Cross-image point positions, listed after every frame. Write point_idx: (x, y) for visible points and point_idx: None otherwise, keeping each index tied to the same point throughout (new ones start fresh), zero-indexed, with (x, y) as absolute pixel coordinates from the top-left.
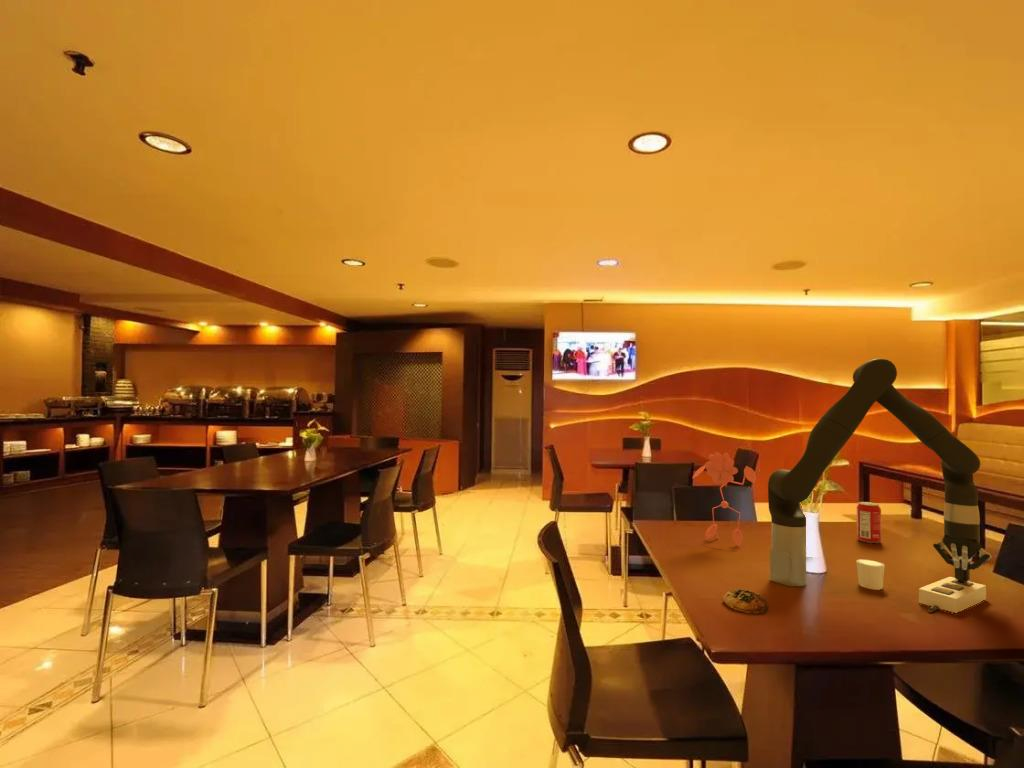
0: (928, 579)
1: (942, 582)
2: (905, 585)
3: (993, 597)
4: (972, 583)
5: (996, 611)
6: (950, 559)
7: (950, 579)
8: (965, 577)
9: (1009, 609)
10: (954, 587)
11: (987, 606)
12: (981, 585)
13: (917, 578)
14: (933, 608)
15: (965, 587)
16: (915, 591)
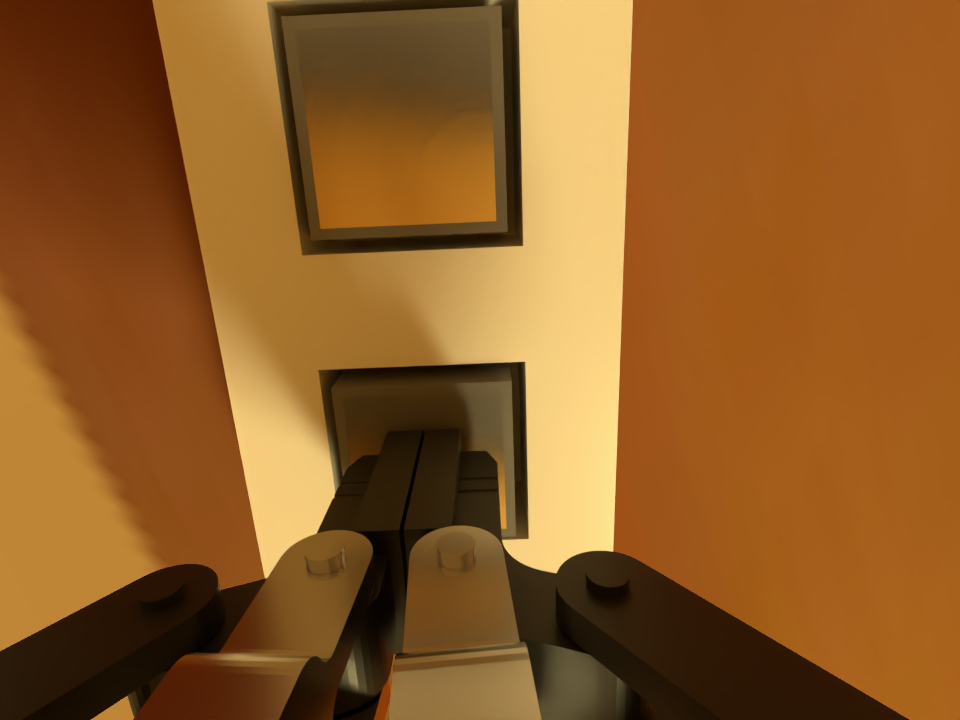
0: (798, 644)
1: (566, 237)
2: (902, 256)
3: None
4: None
5: (114, 252)
6: (603, 682)
7: (561, 477)
8: (367, 483)
9: (115, 426)
10: (350, 62)
11: None
12: None
13: (871, 592)
14: None
15: (319, 291)
16: (774, 133)
